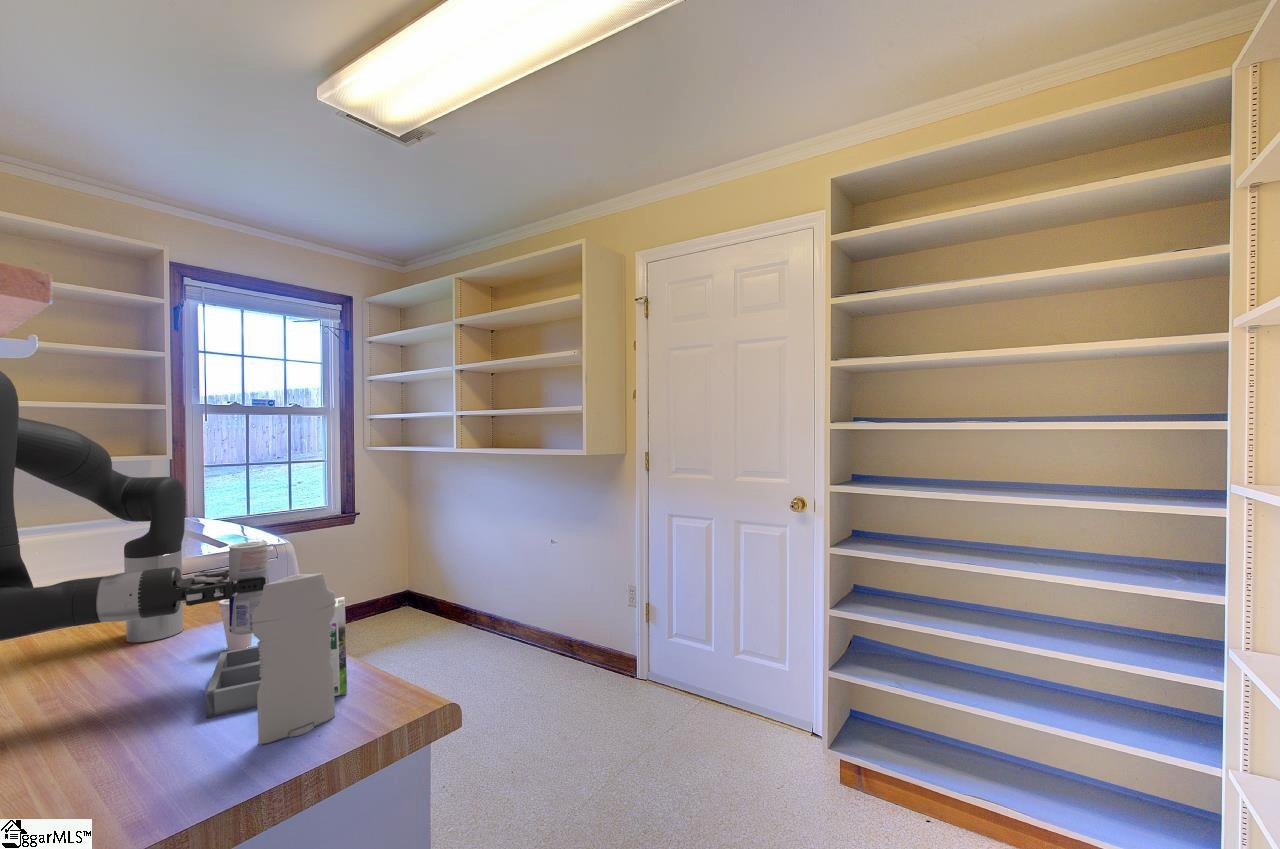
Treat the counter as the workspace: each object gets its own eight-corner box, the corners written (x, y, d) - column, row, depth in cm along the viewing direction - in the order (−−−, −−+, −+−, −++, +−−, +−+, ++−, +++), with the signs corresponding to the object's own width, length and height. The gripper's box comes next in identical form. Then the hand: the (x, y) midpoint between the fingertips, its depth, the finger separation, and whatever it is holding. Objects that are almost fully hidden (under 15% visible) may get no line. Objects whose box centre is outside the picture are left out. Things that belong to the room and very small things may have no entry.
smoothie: (216, 648, 112) (214, 577, 112) (254, 639, 117) (252, 570, 116) (223, 657, 107) (222, 583, 107) (263, 647, 112) (261, 576, 112)
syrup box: (305, 703, 89) (303, 610, 89) (308, 688, 94) (306, 600, 94) (347, 695, 91) (345, 604, 91) (346, 680, 96) (345, 594, 96)
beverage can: (276, 625, 101) (275, 540, 101) (251, 636, 96) (251, 547, 96) (247, 624, 102) (246, 540, 102) (221, 635, 96) (220, 547, 96)
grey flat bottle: (332, 710, 86) (328, 565, 86) (343, 718, 84) (339, 569, 84) (250, 740, 78) (246, 580, 78) (259, 751, 76) (256, 585, 76)
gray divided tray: (221, 672, 101) (220, 652, 101) (284, 660, 105) (284, 640, 105) (206, 718, 85) (205, 694, 85) (281, 701, 90) (281, 678, 90)
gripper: (129, 581, 85) (264, 565, 94) (151, 562, 98) (268, 550, 106) (129, 631, 85) (264, 611, 94) (151, 606, 98) (269, 590, 106)
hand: (266, 579), depth 100 cm, fingers closed on beverage can, 5 cm apart
